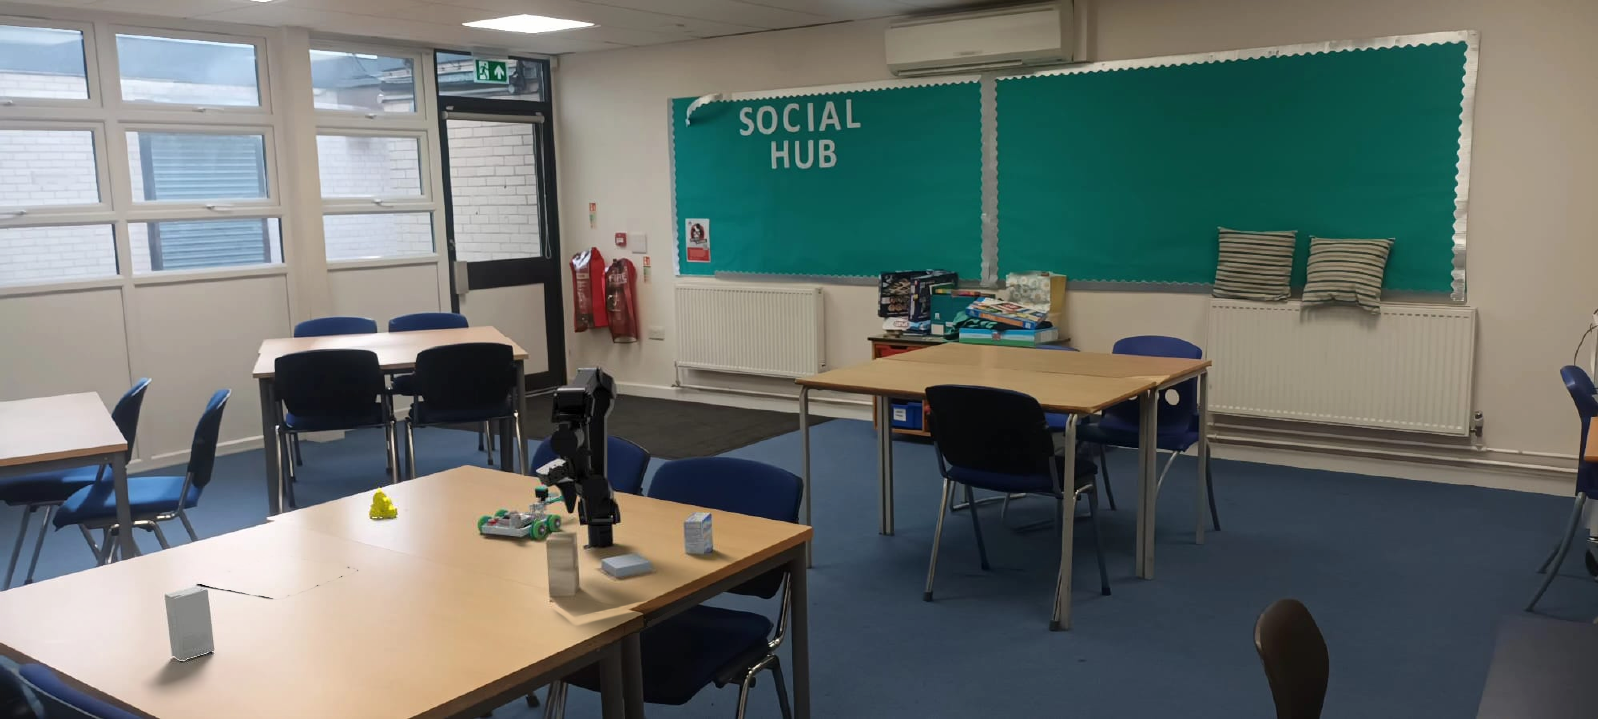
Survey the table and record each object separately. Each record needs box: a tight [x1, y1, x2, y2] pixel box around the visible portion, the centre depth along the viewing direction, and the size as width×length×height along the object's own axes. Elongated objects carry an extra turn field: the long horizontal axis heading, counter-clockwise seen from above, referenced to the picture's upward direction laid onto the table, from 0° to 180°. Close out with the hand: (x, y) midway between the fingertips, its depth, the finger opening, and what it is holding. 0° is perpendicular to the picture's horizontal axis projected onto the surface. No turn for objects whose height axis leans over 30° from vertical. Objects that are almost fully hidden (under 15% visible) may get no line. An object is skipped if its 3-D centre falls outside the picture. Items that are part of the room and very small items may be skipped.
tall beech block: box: [545, 531, 581, 603], centre depth 231 cm, size 5×5×13 cm
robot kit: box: [477, 486, 564, 540], centre depth 286 cm, size 19×25×9 cm
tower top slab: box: [600, 552, 652, 578], centre depth 245 cm, size 8×8×2 cm
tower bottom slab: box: [595, 567, 658, 581], centre depth 245 cm, size 10×10×2 cm
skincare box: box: [164, 585, 215, 660], centre depth 206 cm, size 6×4×12 cm
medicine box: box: [683, 512, 714, 555], centre depth 259 cm, size 8×4×9 cm, turn 168°
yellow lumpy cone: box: [368, 487, 398, 518], centre depth 300 cm, size 6×8×8 cm
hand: (579, 517), depth 244 cm, fingers open, 9 cm apart
